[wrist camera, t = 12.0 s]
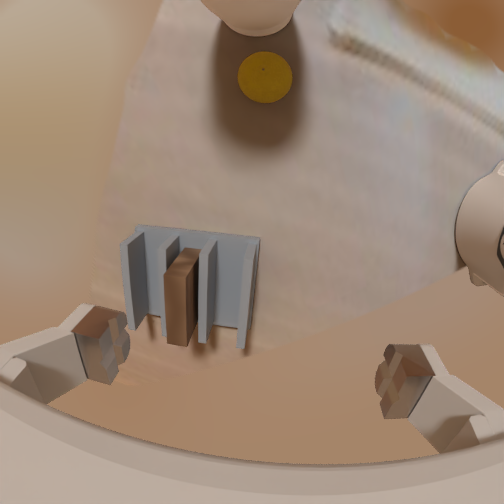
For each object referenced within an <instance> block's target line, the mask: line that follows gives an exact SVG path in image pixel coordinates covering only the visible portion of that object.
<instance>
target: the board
mask: <svg viewBox="0 0 504 504" xmlns="http://www.w3.org/2000/svg"><path fill="white" fill-rule="evenodd" d="M201 250H202V249H195V248H186V247H185V248H184V249H183V250H182V252H181V253H180V254H179V255H178V257H177V258H176V259H175V260H174V262H173V263H172V264H171V265H170V267H169V268H168V269H167V271H166V272H165V273H164V275H163V278H164V301H165V318H166V333H167V343H168V344H173V345H178V346H184V347H187V346H188V343H189V341H190V338H191V336H192V334H193V331H194V329H195V326H196V324H197V322H198V290H199V253H200V252H201Z"/></svg>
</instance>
